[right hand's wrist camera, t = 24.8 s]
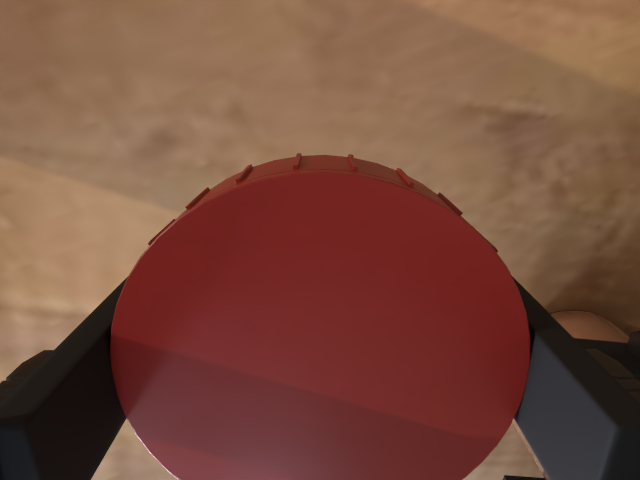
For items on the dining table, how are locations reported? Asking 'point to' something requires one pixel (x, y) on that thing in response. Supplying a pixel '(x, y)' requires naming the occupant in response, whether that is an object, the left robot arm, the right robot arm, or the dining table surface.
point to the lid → (320, 331)
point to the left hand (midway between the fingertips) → (537, 434)
